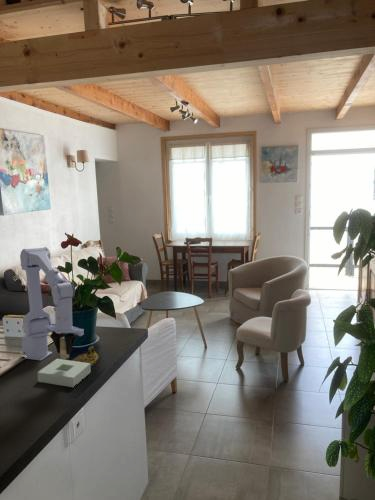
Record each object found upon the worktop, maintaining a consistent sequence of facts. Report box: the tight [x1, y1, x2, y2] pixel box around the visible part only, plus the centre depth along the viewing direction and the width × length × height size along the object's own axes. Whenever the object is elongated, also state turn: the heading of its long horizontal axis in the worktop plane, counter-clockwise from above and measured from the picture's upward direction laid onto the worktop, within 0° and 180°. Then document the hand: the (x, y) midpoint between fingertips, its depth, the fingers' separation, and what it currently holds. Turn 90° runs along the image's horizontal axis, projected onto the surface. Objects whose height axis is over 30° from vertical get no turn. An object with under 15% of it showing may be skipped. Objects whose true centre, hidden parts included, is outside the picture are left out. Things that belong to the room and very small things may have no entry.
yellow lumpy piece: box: [72, 345, 100, 367], centre depth 157 cm, size 9×5×15 cm
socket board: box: [37, 358, 92, 388], centre depth 144 cm, size 14×12×4 cm
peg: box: [59, 336, 70, 360], centre depth 142 cm, size 3×3×7 cm
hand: (64, 352), depth 143 cm, fingers closed on peg, 3 cm apart
